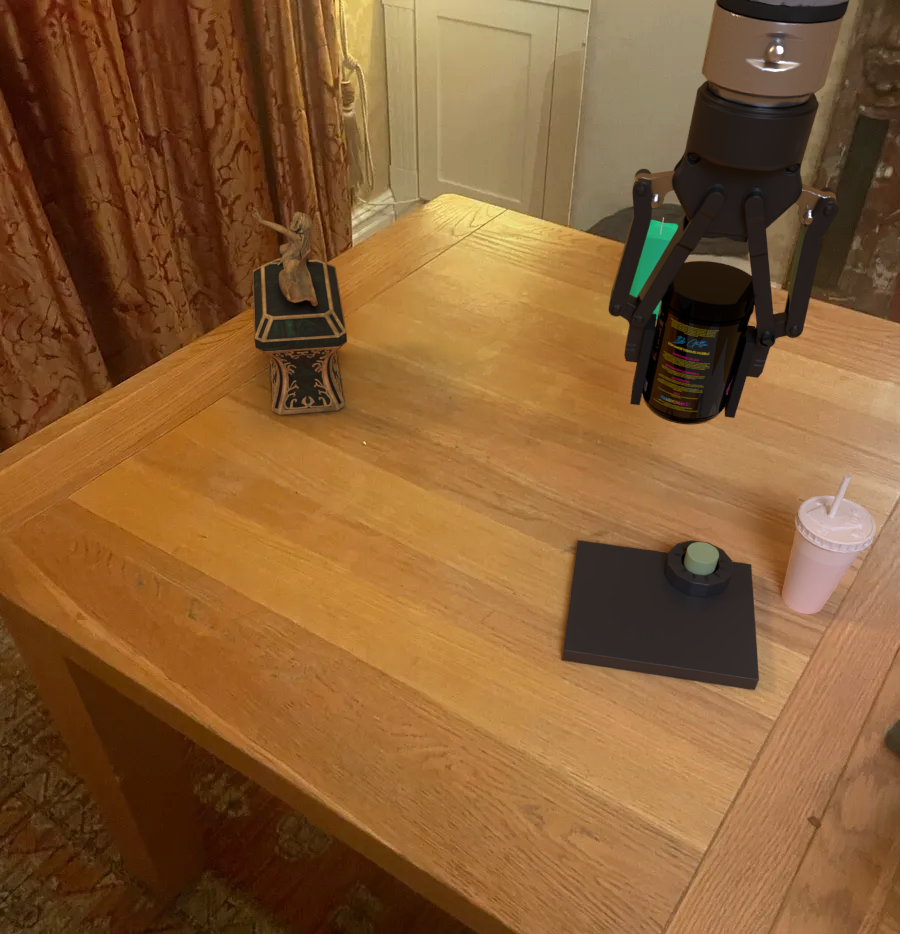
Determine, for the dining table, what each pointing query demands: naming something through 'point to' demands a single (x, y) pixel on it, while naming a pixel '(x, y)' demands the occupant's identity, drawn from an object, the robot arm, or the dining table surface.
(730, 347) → the supplement container
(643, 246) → the robot arm
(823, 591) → the smoothie
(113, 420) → the dining table surface
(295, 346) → the decorative box
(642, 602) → the scale
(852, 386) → the dining table surface
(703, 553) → the button
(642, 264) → the candle
